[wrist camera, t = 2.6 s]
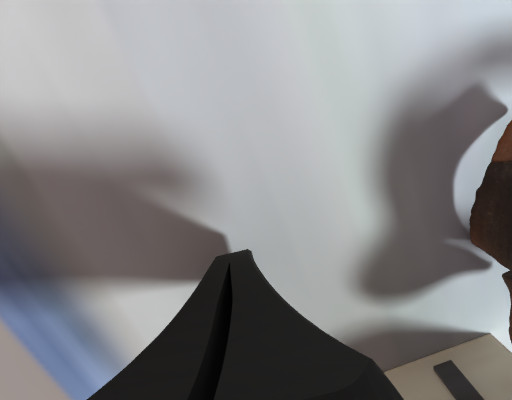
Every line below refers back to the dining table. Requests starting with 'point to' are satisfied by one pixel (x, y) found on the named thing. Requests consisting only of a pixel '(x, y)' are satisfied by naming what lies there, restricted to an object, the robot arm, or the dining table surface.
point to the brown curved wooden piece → (496, 210)
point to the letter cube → (458, 373)
